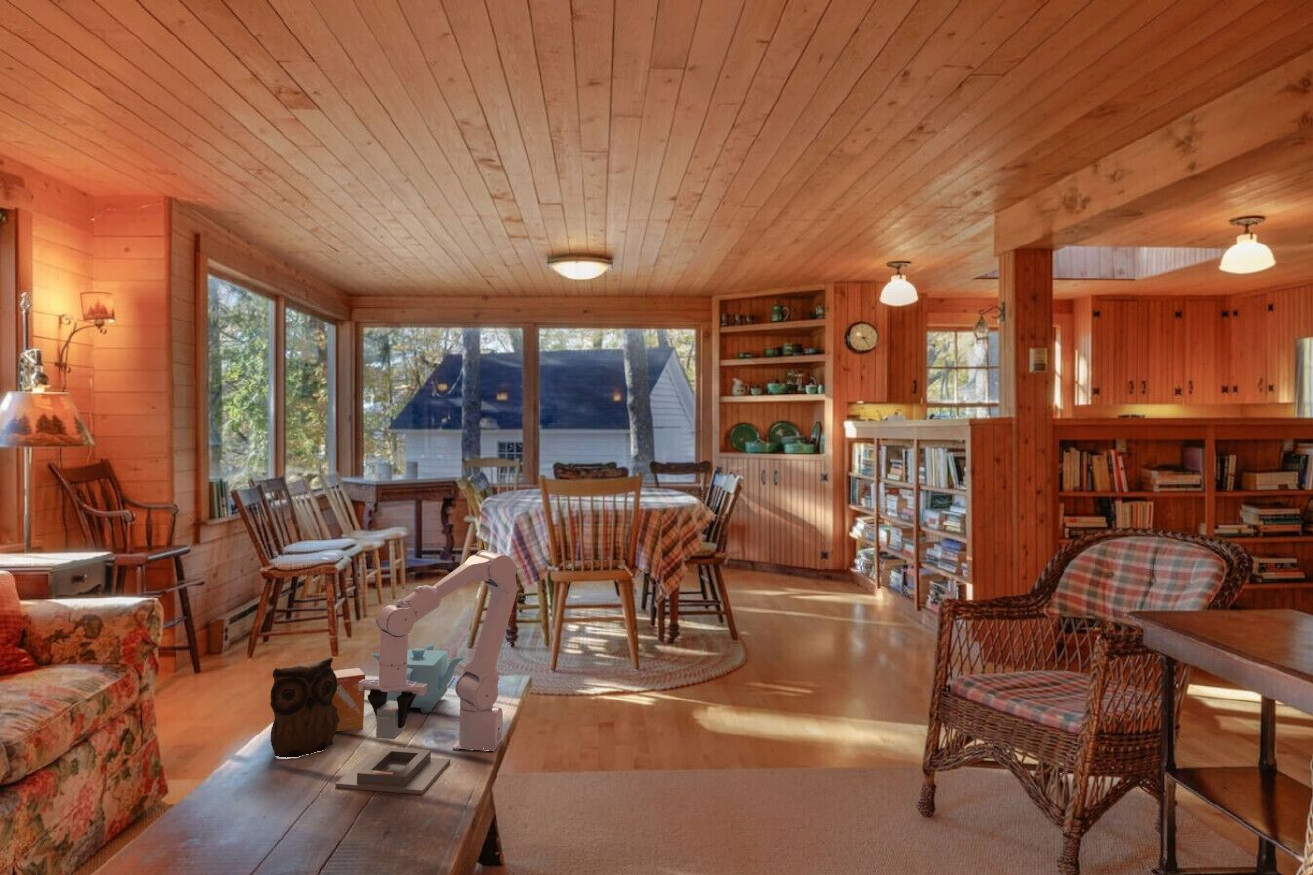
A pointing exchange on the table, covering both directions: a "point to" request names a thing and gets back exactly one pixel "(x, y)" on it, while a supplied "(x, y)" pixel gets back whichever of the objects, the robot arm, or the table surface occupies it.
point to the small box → (349, 699)
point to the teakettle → (427, 675)
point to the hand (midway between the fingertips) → (391, 725)
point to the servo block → (388, 721)
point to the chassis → (395, 771)
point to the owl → (303, 708)
